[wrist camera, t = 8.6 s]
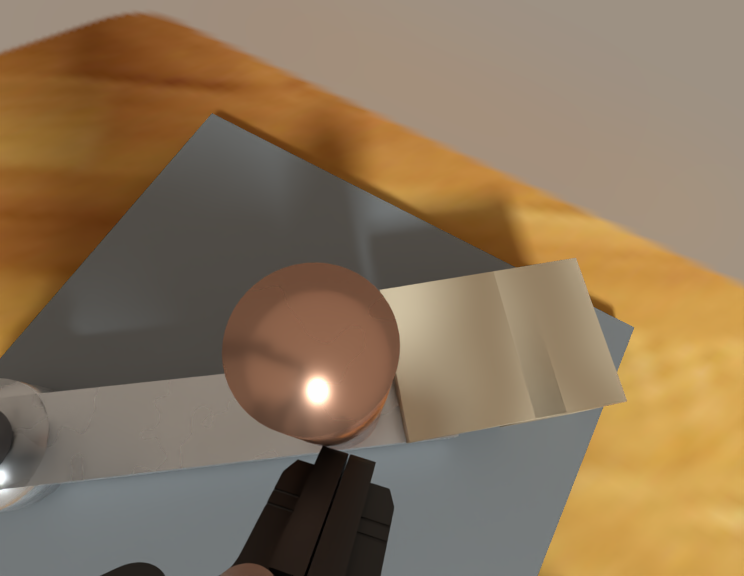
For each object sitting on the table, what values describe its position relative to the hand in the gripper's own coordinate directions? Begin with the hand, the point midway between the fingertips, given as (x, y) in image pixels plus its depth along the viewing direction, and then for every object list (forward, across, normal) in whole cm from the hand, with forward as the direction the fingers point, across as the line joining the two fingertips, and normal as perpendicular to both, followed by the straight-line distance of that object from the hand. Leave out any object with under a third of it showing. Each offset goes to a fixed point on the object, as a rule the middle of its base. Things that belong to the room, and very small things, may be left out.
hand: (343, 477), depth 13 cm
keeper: (+8, -3, 0) cm, 8 cm away
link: (+4, +6, +4) cm, 8 cm away
